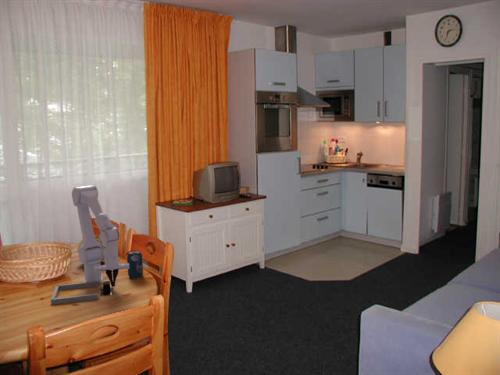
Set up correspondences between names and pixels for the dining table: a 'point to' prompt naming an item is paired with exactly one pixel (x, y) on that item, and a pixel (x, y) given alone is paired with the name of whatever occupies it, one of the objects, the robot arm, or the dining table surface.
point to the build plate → (106, 289)
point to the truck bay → (74, 298)
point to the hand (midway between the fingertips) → (113, 286)
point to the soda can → (135, 264)
